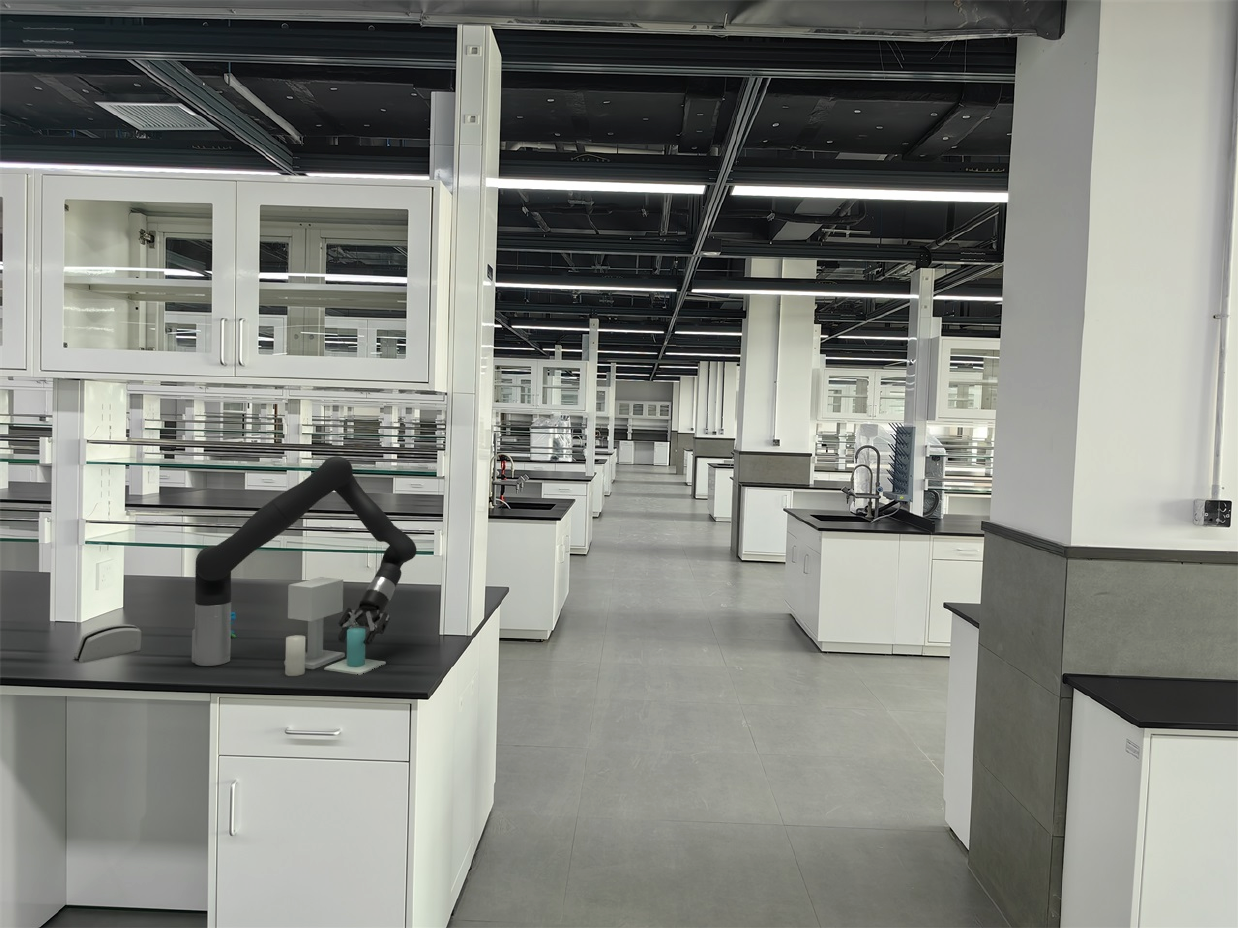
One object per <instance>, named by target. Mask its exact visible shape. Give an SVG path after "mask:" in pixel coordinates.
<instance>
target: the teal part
mask: <svg viewBox="0 0 1238 928" xmlns="http://www.w3.org/2000/svg"><path fill="white" fill-rule="evenodd" d="M365 638H366V628H365V627H356V628H351V629H348V630H347V637H346V659H347V666H349V667H359V666H363V665H365V659H366V645H365V644H364V643H363V642H364V640H365Z"/></svg>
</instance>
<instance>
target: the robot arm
mask: <svg viewBox="0 0 1238 928" xmlns="http://www.w3.org/2000/svg"><path fill="white" fill-rule="evenodd" d="M353 473H354V470H353V465H352V463H351V462H350V461H349V460H348V459H346V458H345V457H342V456H337V455H335V456H331V457H328V458H327V459H326V460H324V461H323V462H322V463H321V465H319V467H318V468H316V470H315V471H313V472H312V473H311V474H310V475H309V476H308V477H306V478H305V479H304V480H302V481H301V482H299V483H298V484H296V485H294V486H293V487H290V488H289V489H287V490H286V491H284V492H282V493H281V494H279V495H277V496H276V497H275V498H273V499H271V500H270V501H269V502H268V503H266V504H264V506H262V507H261V508H259V509H258V510H257V511H256V512H255V513H254V514H253V515H252V516H250V518H249V519H247V520H246V521H245V523H244V524H243V525H242V526H241V527H240V528H239V529H238V530H236V532H234V533H233V534H232V535H230V536H229V537H227V538H226V539H224V540H223V541H222V542H220V543H218V544H217V545H209V546H207V547H204V548H202V549H201V550H200V551H199V552H198V554H197V556H196V557H195V558H196V559H195V571H194V573H195V582H194V583H195V587H194V588H195V589H194V591H195V592H194V600H195V603H194V609H195V610H194V628H193V629H192V631H191V663H194V664H195V665H197V666H200V667H213V666H219V665H225V664H226V663H230V662H231V645H232V644H231V640H232V639H231V637H232V636H231V630H232V625H231V621H232V620H231V612H232V571H233V570H235V568H236V567H238V566H239V564H241V563H242V562H243V561H244V560H245V559H247V557H249V556H250V555H252V553H253V552H255V551H256V550H258V549H260V548H261V547H262V546H264V545H266V544H268V543H269V542H271V541H272V540H273V539H275V538H276V537H277V536H279V535H281V534H282V533H283V532H285V531H286V530H287V529H289V528H290V527H291V526H293V525H294V524H295V523H296V522H297V521H298V520H300V519H301V518H302V517H303V516H304V515H305V514H306V513H307V512H309V510H310V509H312V507H314V506H315V505H316V504H317V503H318V502H319V501H320V500H322V499H324V498H325V497H326V496H328V495H329V494H332V492H335V493H337V495H338V496H340V497H341V498H342V500H343V501H344V502H345V503H346V504H347V505H348V506H349V507H350V509H351V510H352V511H353V513H354V514H355V516H357V518H358V520H360V522H361V523H362V524H363V525H364V527H365V528H366V529H367V531H368V532H369V533H370V534H371V535H372V537H373V538H374V539H375V540H376V541H377V542H379V543H382V542H383V543H386V544H387V545H388V547H387V548H386V549H385V551H384V553H383V555H382V559H381V562H380V566H379V568H378V570H377V571H376V573H375V575H374V577H373V579H372V581H371V582H370V583H368V586H367V588H366V590H365V592H364V594H363V596H362V597H361V599H360V601H359V605H358V608H357V609H352V608H351V607H348V608H347V609H346V610H345V612H344V613H343V615H342V617H341V618H340V619H339V621H338V626H339V627H340V628H341V630H340V632H339V634H338V635H337V638H338V639H337V640H338V641H339V642H340V643H345V641H346V640H347V630H348V629H351V628H359V627H365V628H366V627H367V628H369V631H368V632H367V634H366V635H365V640H364V642H363V643H364V644H365V647H369V646H370V645H371V644H372V642H373V640H374V639H375V637H376V636H377V635H378V634H380V635H383V634H384V633H385V631H386V629H387V626H388V623H389V622H390V619H391V617H390V615H389V614H388V613H387V611H386V608H387V607H388V605H389V604H390V601H391V599H392V597H393V596H394V592H395V590H396V587H397V585H398V583H399V581H400V579H401V577H402V570H401V569H402V566H403V565H404V564H405V563H407V562H410V561H412V560H413V559H414V558H415V557H416V555H417V551H418V550H417V546H416V543H415V542H414V540H413V539H412V538H411V537H410V536H409V535H408V534H406V533H405V532H404V531H403V530H401V528H398V527H397V526H396V525H395V524H394V523H393V522H392V521H391V519H390V517H388V515H386V514H387V513H385V512H384V511H383V509H382V508H381V507H380V506H379V505H378V504H377V503H376V502H375V501H374V500H373V499H372V498H371V497H370V496H369V494H367V493H366V492H365V491H364V489H363V488H362V487H361V486H360V485H359V483H358V481H357V479H356V478H355V476H354V474H353ZM377 622H378V624H377Z"/></svg>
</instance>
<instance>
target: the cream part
mask: <svg viewBox="0 0 1238 928" xmlns="http://www.w3.org/2000/svg"><path fill="white" fill-rule="evenodd" d="M305 653H306V636H305V635H301V634H299V635H298V634H297V635H295V634H294V635H290V636H289V635H288V636H286V637H285V660H286V665H284V666H285V669H284V670H285V671H284V674H285V676H289V677H297V676H301V675H304V674H305V672H306V668H305Z"/></svg>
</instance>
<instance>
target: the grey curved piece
mask: <svg viewBox="0 0 1238 928" xmlns="http://www.w3.org/2000/svg"><path fill="white" fill-rule="evenodd" d="M78 645H79V646H78V648H77V651H76V652H75V653H74V654H73V658H72V659H73V660H77V659H79V660H78V662H79V663H85V662H86V663H87V662H90V661H95V660H99V659H100V660H101V659H105V658H109V657H114V656H118V655H123V654H129V653H134V652H139V651H141V646H142V631H141V629H140V628H138V627H137V626H136V625H133V624H124V623H123V624H112V625H108V626H107V625H106V626H103V627H100V628H97V629H94V630H91V631H89V632H87V633H85V634H83V636H82V637H81V639H80V642H79V644H78Z"/></svg>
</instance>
